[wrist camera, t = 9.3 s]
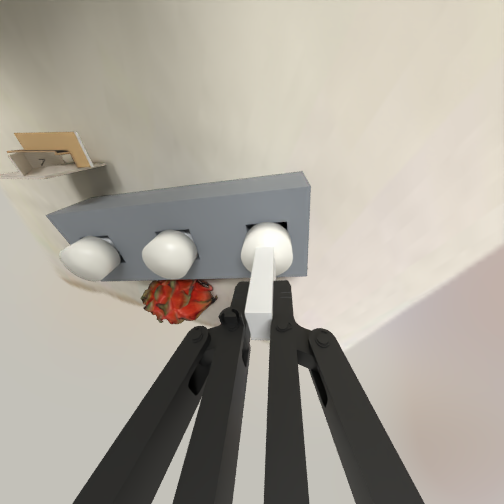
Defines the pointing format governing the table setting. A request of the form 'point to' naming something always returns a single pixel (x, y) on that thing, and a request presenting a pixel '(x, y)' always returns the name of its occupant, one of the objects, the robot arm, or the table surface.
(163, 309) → the dragon fruit
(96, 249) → the knob far
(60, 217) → the mount
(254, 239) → the knob near
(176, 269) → the knob mid
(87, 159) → the architectural model
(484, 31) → the table surface
